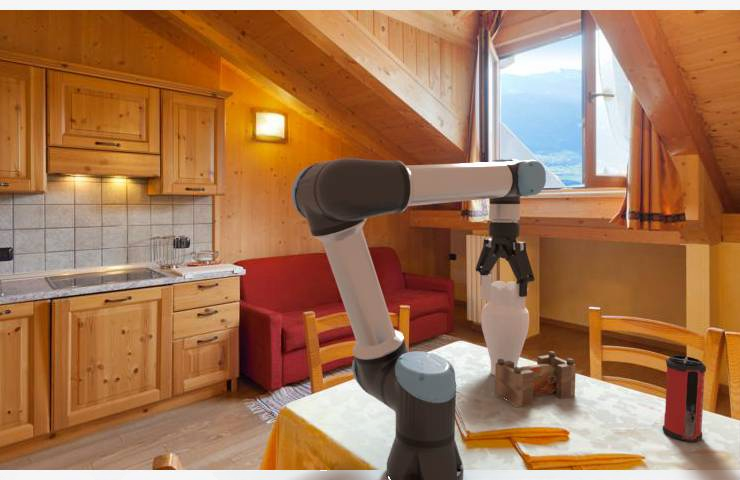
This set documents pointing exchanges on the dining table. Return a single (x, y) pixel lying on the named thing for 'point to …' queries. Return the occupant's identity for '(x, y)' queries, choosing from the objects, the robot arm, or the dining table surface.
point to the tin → (543, 379)
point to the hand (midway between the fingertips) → (501, 304)
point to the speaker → (684, 398)
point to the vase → (504, 324)
